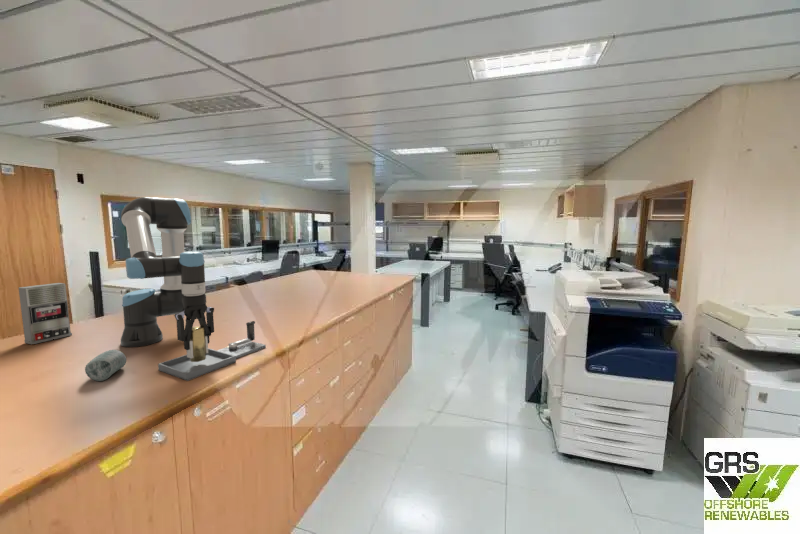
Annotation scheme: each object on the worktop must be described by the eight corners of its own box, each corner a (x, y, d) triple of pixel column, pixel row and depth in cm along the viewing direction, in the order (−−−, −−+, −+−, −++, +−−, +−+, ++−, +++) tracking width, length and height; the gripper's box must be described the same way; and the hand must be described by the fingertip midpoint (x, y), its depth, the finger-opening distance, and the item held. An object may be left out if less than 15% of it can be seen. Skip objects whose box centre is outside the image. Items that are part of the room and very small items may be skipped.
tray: (158, 370, 122) (158, 363, 122) (207, 353, 139) (207, 347, 139) (187, 381, 114) (186, 374, 114) (235, 362, 131) (235, 355, 131)
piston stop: (187, 360, 125) (185, 329, 124) (200, 355, 130) (198, 325, 128) (195, 362, 123) (193, 331, 121) (208, 358, 127) (207, 327, 126)
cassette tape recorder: (32, 345, 146) (25, 288, 143) (24, 343, 148) (17, 287, 145) (72, 335, 159) (66, 283, 156) (64, 334, 161) (59, 282, 158)
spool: (112, 374, 111) (99, 347, 112) (83, 389, 110) (70, 362, 110) (139, 367, 125) (127, 343, 125) (113, 380, 123) (101, 356, 124)
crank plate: (213, 354, 138) (213, 351, 138) (247, 342, 152) (247, 339, 152) (232, 360, 133) (232, 356, 133) (265, 347, 147) (265, 344, 147)
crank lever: (232, 350, 139) (231, 328, 138) (227, 348, 141) (225, 327, 140) (257, 341, 151) (257, 321, 150) (253, 339, 152) (252, 320, 151)
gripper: (174, 299, 114) (178, 365, 116) (223, 291, 130) (226, 349, 132) (161, 297, 117) (166, 361, 120) (211, 289, 133) (214, 345, 136)
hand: (197, 354), depth 126 cm, fingers closed on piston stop, 5 cm apart
